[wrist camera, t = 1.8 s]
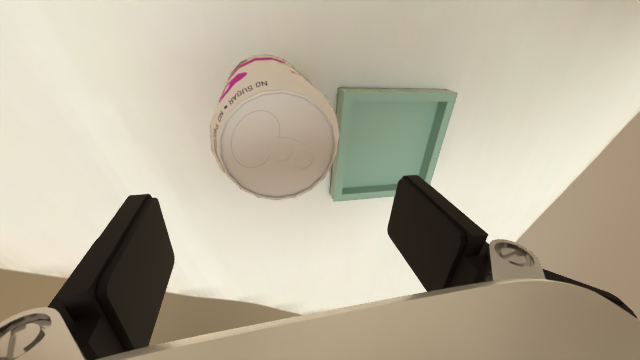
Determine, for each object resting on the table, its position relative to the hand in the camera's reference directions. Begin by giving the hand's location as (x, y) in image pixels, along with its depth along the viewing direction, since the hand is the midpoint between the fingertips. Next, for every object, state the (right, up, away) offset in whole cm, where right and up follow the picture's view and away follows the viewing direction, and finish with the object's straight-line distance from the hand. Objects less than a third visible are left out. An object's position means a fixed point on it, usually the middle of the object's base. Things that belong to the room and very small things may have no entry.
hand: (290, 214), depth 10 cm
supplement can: (-5, +11, +18) cm, 21 cm away
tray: (+10, +6, +24) cm, 27 cm away
